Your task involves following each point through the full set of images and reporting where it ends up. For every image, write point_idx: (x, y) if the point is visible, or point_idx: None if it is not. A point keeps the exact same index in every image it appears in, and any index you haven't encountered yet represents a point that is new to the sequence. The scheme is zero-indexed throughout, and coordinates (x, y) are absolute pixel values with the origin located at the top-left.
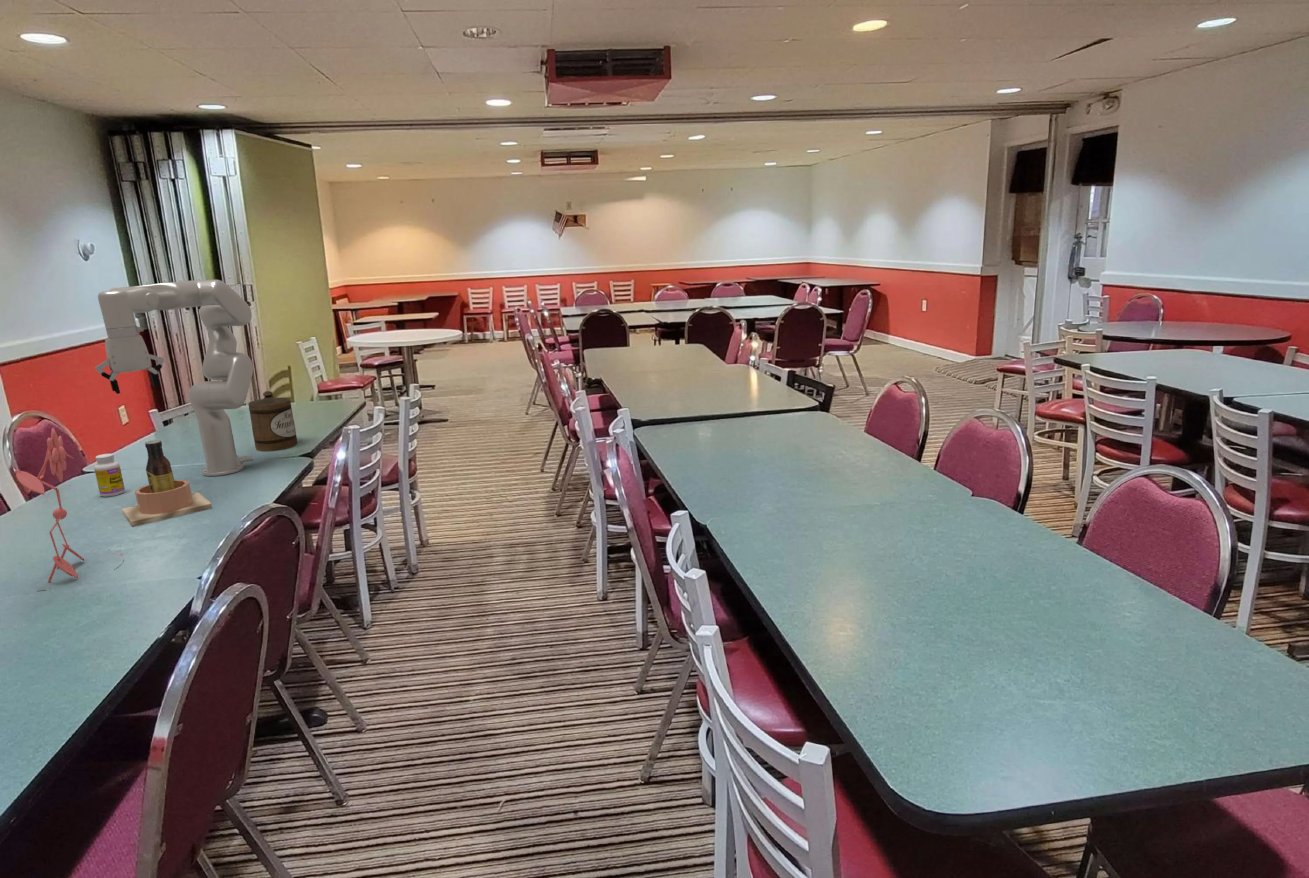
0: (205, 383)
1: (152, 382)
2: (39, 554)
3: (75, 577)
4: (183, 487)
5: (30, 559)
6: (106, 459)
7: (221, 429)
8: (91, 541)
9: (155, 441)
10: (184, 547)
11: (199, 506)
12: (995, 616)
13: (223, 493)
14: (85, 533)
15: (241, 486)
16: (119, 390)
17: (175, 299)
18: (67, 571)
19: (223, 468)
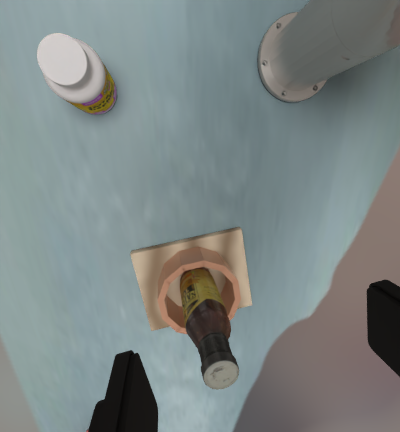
0: None
1: (397, 330)
2: (50, 375)
3: None
4: (230, 318)
5: (44, 388)
6: (73, 86)
7: (379, 54)
8: (107, 357)
9: (226, 376)
10: (211, 423)
11: (237, 308)
12: None
13: (271, 231)
14: (92, 320)
15: (300, 207)
16: (156, 429)
17: None
18: None
19: (298, 89)
